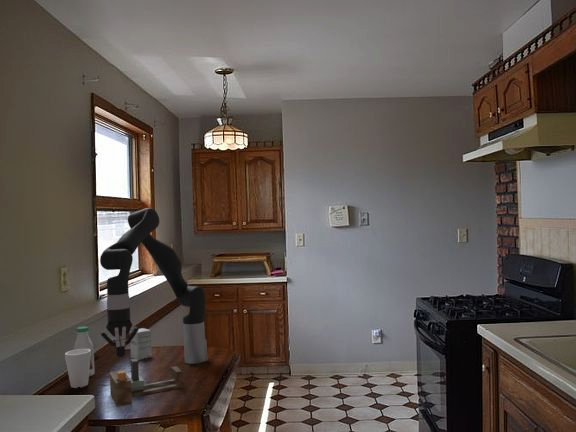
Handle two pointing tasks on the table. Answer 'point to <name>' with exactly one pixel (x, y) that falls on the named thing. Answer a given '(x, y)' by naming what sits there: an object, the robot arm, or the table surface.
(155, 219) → the robot arm
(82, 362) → the foam cup
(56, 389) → the table surface
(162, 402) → the table surface
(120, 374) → the button
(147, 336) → the supplement box
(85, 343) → the milk bottle
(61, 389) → the table surface
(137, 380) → the sliding handle
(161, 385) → the brown mechanism housing
